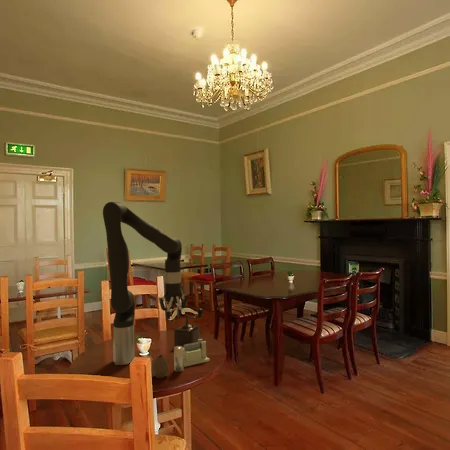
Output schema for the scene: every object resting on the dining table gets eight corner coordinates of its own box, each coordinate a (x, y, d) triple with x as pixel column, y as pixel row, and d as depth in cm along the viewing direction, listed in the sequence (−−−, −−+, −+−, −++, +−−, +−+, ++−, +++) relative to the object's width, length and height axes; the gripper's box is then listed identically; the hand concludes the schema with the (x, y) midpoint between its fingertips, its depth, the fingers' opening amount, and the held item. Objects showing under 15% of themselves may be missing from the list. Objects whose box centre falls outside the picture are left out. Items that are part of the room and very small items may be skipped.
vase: (169, 372, 157) (169, 352, 156) (167, 379, 150) (167, 358, 150) (153, 373, 156) (153, 353, 156) (151, 380, 150) (150, 359, 149)
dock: (183, 366, 162) (183, 348, 162) (175, 359, 171) (175, 341, 171) (209, 361, 168) (209, 343, 168) (200, 354, 177) (200, 337, 177)
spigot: (176, 372, 156) (175, 349, 156) (173, 369, 160) (172, 347, 160) (184, 370, 158) (184, 348, 158) (181, 367, 162) (181, 345, 162)
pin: (185, 350, 167) (185, 346, 167) (183, 348, 169) (183, 344, 169) (204, 346, 172) (204, 342, 171) (203, 345, 173) (203, 341, 173)
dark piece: (192, 350, 182) (192, 315, 182) (173, 347, 187) (173, 313, 186) (205, 340, 197) (205, 307, 196) (188, 338, 201) (187, 306, 201)
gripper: (160, 284, 158) (161, 322, 158) (190, 281, 165) (191, 318, 165) (155, 281, 165) (156, 318, 165) (184, 278, 171) (185, 314, 172)
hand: (173, 318), depth 165 cm, fingers open, 4 cm apart
